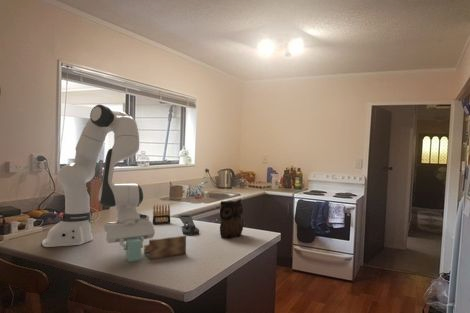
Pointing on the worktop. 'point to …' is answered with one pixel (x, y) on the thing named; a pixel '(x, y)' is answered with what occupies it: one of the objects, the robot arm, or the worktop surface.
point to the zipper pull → (188, 225)
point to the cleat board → (165, 247)
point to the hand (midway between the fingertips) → (133, 248)
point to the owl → (231, 219)
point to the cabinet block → (133, 249)
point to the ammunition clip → (157, 215)
